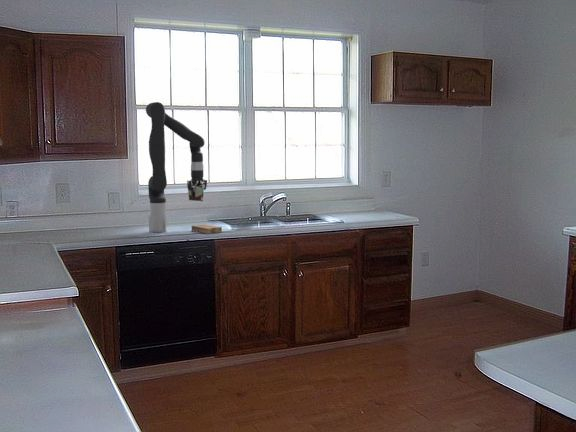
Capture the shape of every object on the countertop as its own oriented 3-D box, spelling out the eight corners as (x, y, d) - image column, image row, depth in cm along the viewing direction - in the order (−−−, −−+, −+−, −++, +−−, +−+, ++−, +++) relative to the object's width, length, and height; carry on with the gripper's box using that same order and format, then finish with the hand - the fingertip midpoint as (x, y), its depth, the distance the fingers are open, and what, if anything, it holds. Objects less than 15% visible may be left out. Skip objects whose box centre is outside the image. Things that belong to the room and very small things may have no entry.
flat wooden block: (208, 233, 365) (208, 228, 365) (191, 230, 376) (191, 225, 376) (221, 232, 372) (221, 227, 372) (205, 229, 383) (204, 224, 383)
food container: (209, 200, 383) (209, 184, 382) (203, 201, 378) (202, 184, 377) (193, 199, 390) (193, 183, 388) (187, 200, 384) (186, 183, 383)
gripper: (191, 170, 373) (191, 198, 375) (210, 169, 384) (210, 196, 386) (183, 169, 378) (184, 197, 381) (202, 168, 389) (202, 196, 391)
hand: (197, 197), depth 383 cm, fingers closed on food container, 5 cm apart
